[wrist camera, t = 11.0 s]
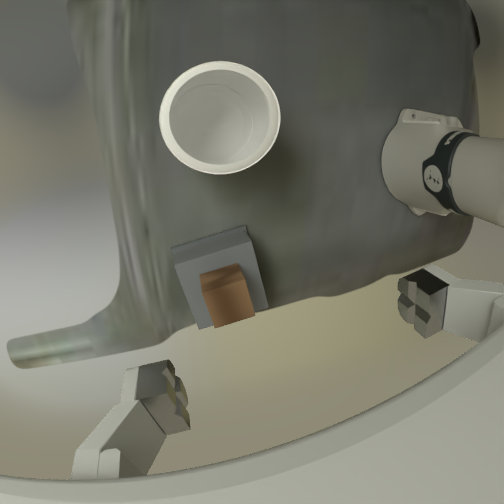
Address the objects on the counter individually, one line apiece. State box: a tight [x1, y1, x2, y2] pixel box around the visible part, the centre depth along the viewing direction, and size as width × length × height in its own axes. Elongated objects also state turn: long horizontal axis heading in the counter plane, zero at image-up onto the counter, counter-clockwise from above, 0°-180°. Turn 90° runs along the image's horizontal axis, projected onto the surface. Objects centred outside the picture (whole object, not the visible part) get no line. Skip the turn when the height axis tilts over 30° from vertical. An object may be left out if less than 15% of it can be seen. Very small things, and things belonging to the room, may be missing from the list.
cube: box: [199, 263, 255, 328], centre depth 37 cm, size 5×5×5 cm
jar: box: [159, 61, 280, 174], centre depth 31 cm, size 11×10×15 cm
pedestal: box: [171, 225, 269, 329], centre depth 43 cm, size 11×11×6 cm
